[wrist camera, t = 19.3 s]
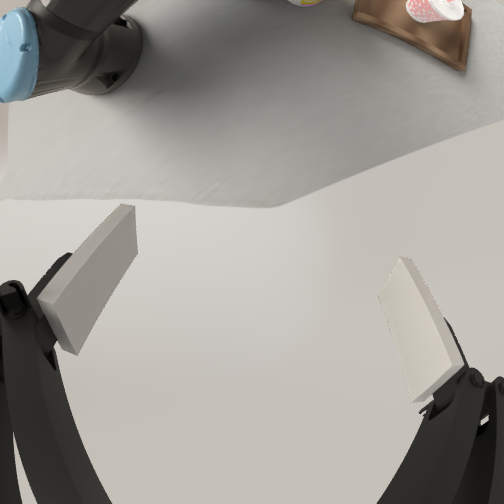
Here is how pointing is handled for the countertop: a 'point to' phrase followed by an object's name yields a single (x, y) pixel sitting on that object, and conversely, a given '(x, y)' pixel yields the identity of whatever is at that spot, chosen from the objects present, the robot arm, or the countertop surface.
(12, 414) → the robot arm
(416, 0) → the beverage cup
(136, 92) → the countertop surface
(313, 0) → the supplement bottle
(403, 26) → the walnut tray
